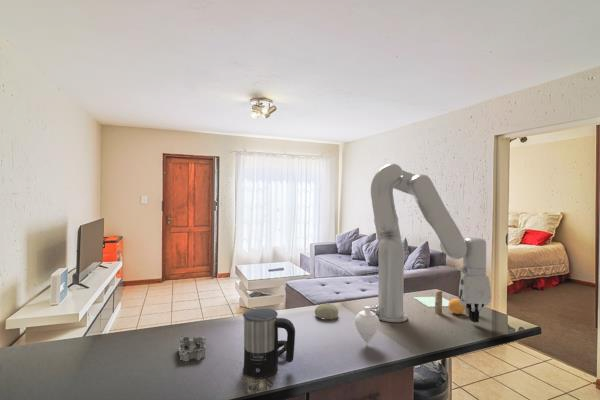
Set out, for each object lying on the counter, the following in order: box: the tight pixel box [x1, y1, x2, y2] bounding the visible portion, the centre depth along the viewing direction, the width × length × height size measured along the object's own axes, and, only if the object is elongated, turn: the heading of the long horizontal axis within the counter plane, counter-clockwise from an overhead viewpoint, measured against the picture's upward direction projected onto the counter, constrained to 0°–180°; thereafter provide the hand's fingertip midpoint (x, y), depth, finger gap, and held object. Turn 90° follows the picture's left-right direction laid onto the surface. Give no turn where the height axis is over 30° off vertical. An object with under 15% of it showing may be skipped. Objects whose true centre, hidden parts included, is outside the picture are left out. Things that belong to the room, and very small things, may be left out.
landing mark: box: [413, 296, 450, 308], centre depth 146 cm, size 14×14×1 cm
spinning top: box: [354, 305, 381, 346], centre depth 100 cm, size 8×8×12 cm
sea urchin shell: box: [314, 303, 339, 320], centre depth 125 cm, size 9×8×8 cm
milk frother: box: [242, 308, 296, 379], centre depth 89 cm, size 14×16×15 cm
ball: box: [448, 298, 465, 315], centre depth 131 cm, size 6×6×6 cm
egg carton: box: [178, 334, 207, 363], centre depth 94 cm, size 11×8×4 cm
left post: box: [434, 289, 443, 315], centre depth 131 cm, size 3×3×9 cm
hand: (473, 321), depth 118 cm, fingers closed
